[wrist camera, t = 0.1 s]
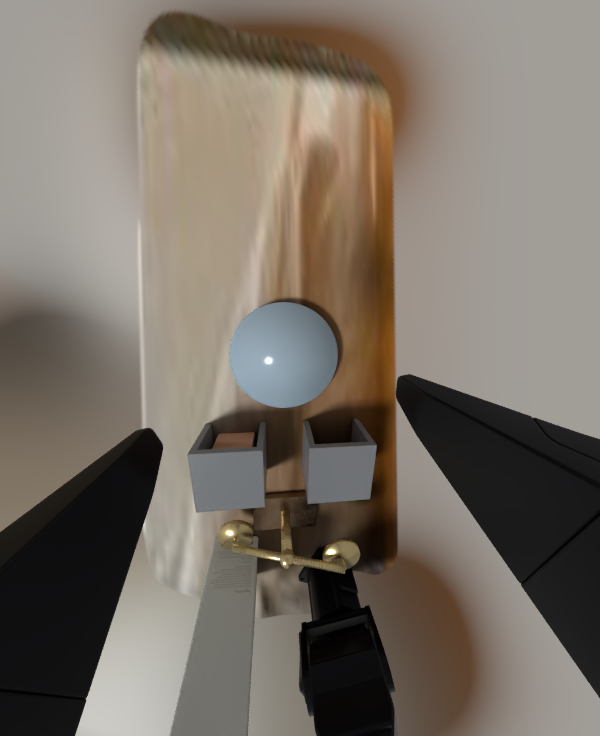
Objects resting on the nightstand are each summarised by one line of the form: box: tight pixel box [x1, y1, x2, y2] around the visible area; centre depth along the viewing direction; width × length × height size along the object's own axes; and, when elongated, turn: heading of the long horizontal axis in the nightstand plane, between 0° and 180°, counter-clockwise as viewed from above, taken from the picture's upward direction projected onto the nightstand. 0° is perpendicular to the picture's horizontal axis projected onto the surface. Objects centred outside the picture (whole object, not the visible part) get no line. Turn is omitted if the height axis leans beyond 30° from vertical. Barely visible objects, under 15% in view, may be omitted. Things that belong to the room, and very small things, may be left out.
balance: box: [217, 491, 360, 574], centre depth 25 cm, size 16×5×8 cm, turn 89°
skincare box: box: [170, 536, 259, 736], centre depth 23 cm, size 8×6×15 cm
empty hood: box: [302, 419, 377, 504], centre depth 24 cm, size 7×7×5 cm
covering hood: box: [188, 422, 267, 512], centre depth 23 cm, size 7×7×5 cm
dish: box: [229, 302, 338, 408], centre depth 23 cm, size 11×11×1 cm
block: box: [212, 432, 255, 449], centre depth 24 cm, size 4×4×4 cm
